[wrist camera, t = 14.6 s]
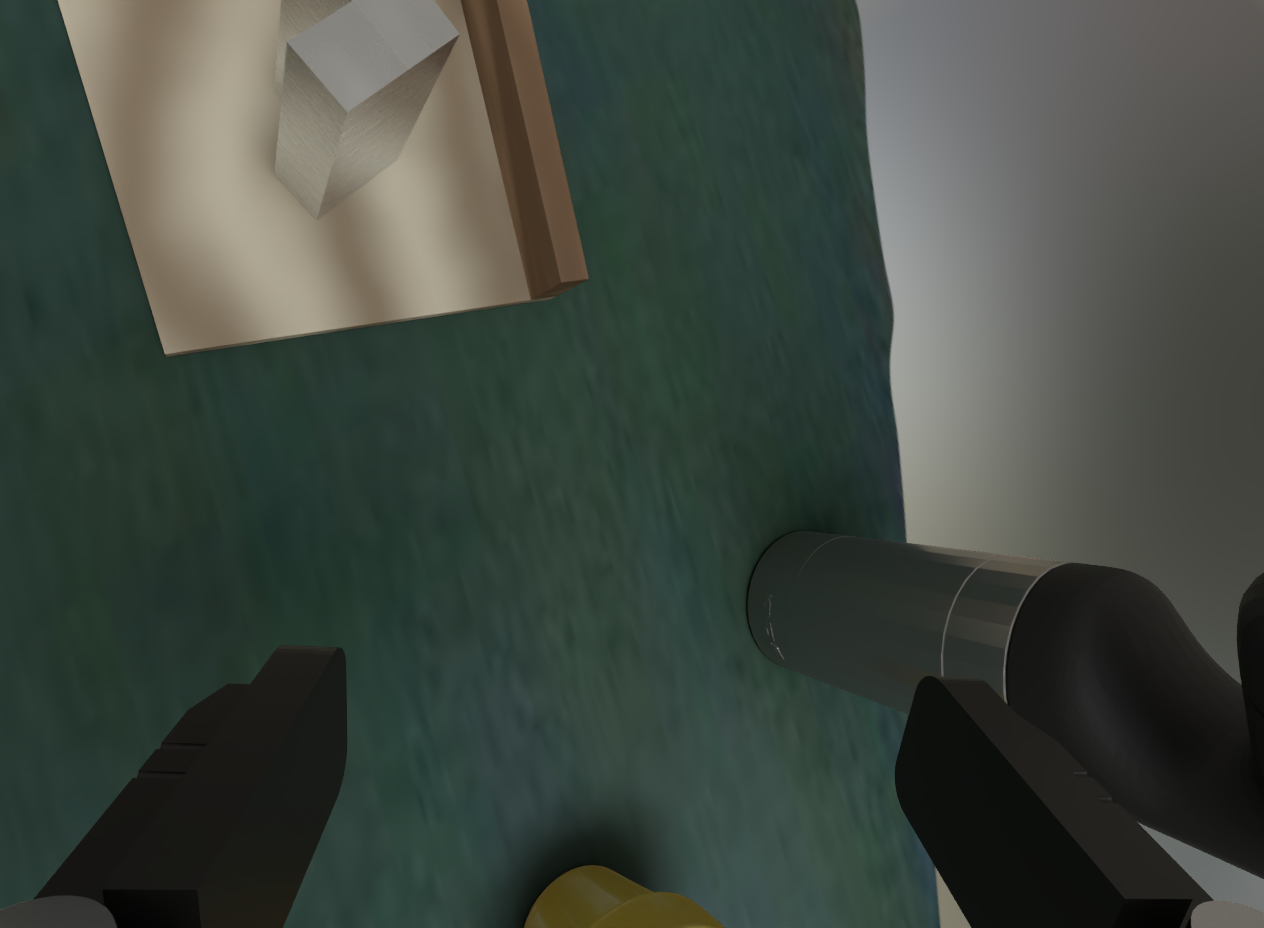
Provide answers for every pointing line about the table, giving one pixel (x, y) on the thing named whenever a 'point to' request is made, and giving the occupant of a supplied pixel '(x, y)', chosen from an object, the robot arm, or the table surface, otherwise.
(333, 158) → the bracket
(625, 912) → the plant pot
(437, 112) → the wooden tray
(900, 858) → the table surface
